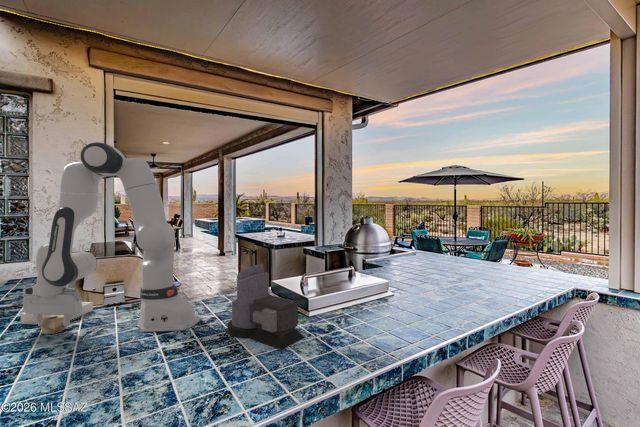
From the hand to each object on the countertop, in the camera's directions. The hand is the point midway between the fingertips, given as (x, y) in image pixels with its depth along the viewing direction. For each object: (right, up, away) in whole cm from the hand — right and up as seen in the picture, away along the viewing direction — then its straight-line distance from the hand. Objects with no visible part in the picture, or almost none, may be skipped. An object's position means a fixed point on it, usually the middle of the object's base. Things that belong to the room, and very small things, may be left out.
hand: (53, 326), depth 117 cm
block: (0, -2, 0) cm, 2 cm away
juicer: (+76, -2, -2) cm, 76 cm away
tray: (-10, -1, +14) cm, 17 cm away
